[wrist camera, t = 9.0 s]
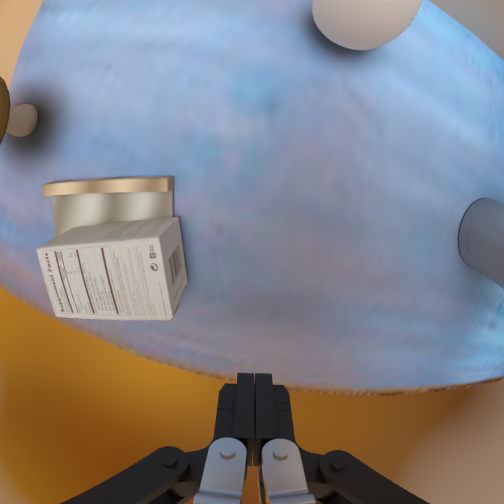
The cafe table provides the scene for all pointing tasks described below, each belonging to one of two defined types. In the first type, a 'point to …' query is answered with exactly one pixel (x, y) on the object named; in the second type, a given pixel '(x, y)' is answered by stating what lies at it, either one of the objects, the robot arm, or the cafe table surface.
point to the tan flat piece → (110, 200)
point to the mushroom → (15, 116)
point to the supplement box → (116, 270)
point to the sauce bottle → (363, 21)
